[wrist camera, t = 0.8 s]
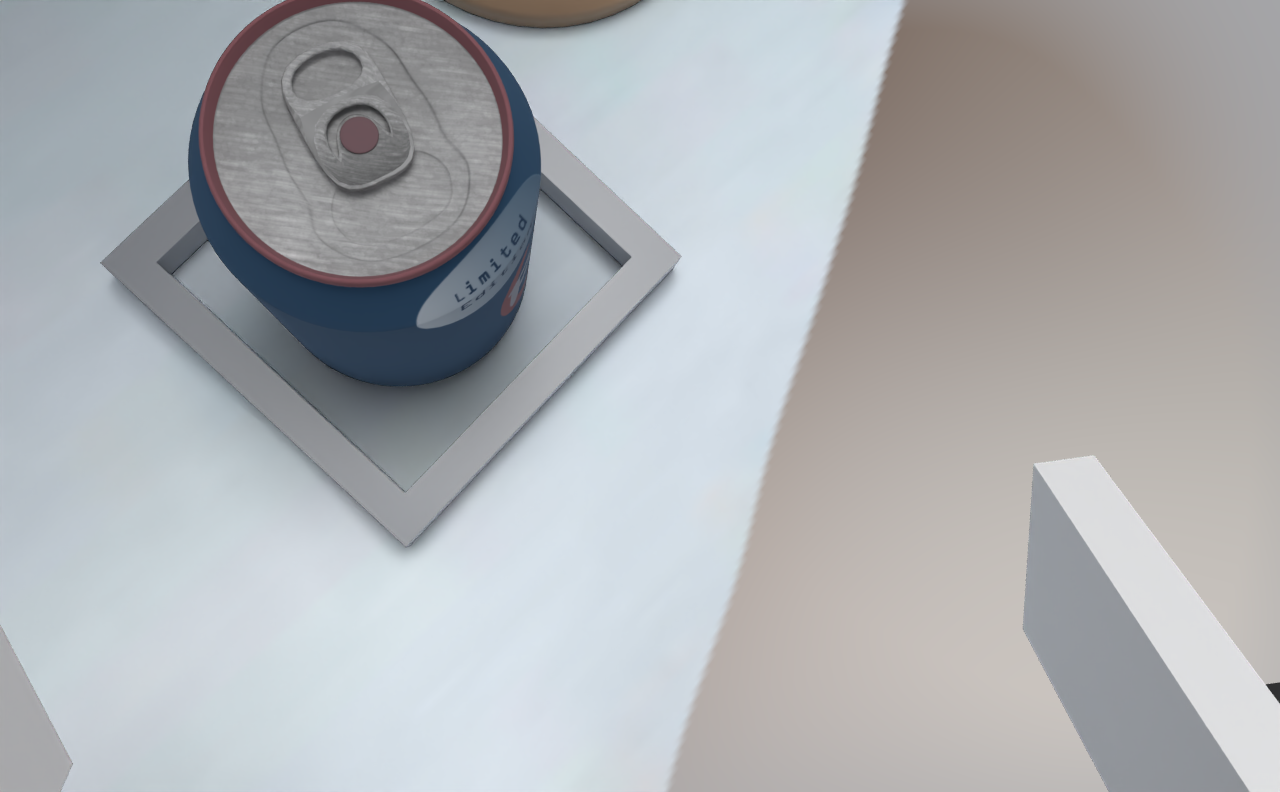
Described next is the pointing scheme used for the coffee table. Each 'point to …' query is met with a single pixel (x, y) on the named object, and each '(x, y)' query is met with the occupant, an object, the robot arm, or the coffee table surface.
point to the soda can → (370, 183)
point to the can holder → (408, 514)
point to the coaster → (543, 11)
